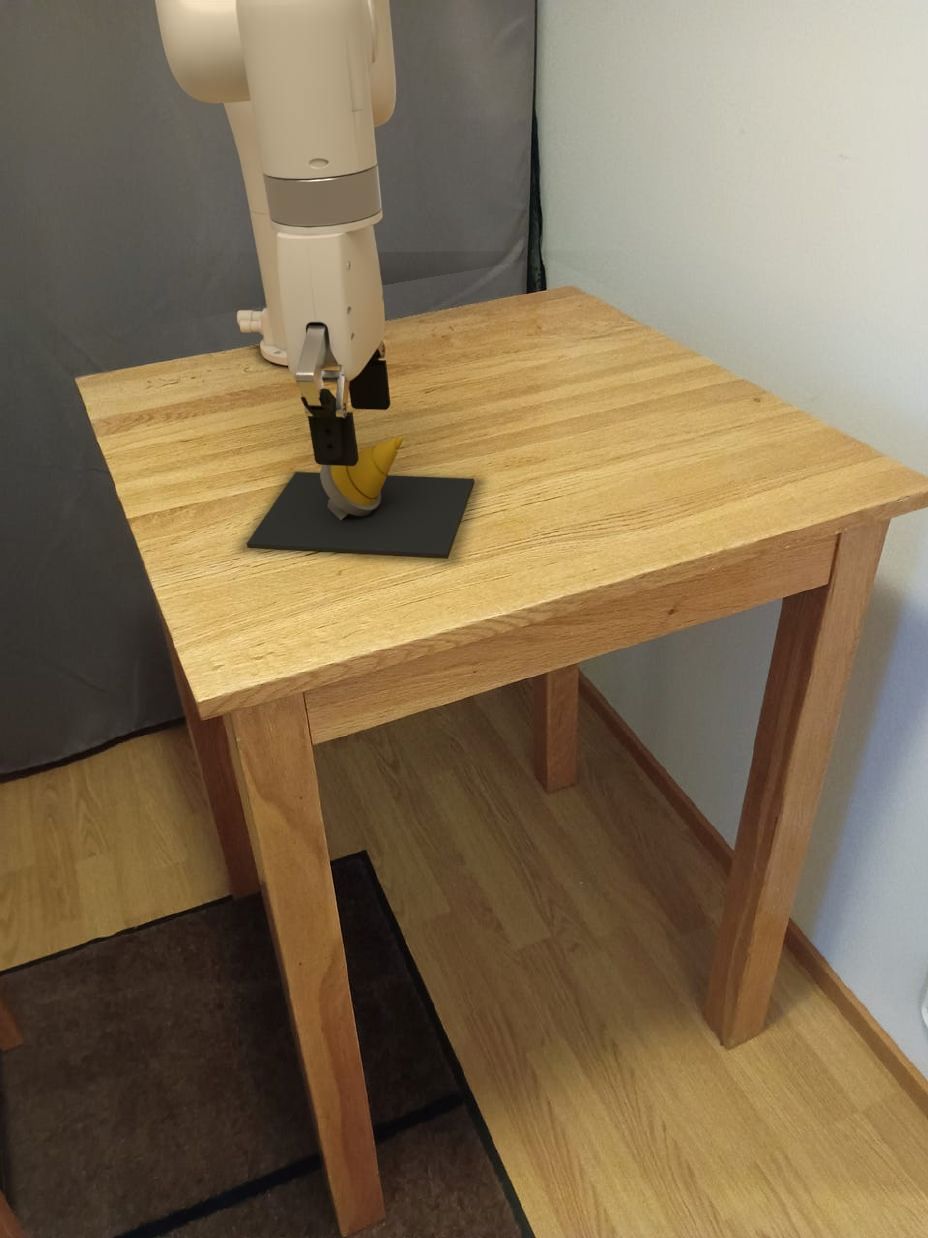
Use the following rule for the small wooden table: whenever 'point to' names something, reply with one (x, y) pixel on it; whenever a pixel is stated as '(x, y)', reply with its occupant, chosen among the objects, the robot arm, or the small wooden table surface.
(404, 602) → the small wooden table surface
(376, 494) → the yellow cone
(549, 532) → the small wooden table surface
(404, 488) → the mat
